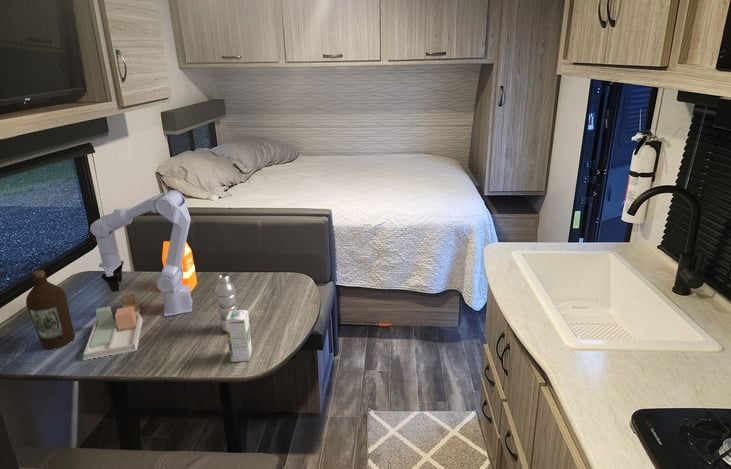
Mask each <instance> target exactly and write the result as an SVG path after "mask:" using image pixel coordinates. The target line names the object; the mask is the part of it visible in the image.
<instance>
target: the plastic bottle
mask: <svg viewBox="0 0 731 469" xmlns="http://www.w3.org/2000/svg"><path fill="white" fill-rule="evenodd" d="M214 293H215V297H216V299H217V302H218V307H219V316H220V321H219V322H220V323H219V325H220V328H221V330H223V331H224V332H226V333H227V330H226V322H225V321H226V319H227V316H228V313H229V311H234V310H238V308H237V300H236V299H237V298H236V297H237V296H236V295H237V291H236V286H235V284H233V283H232V282H231V277H230V274H229V273H227V272H225V273H224V272H223V273H220V274H218V275H217V285H216V288H215V292H214Z"/></svg>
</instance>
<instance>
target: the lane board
mask: <svg viewBox="0 0 731 469" xmlns="http://www.w3.org/2000/svg"><path fill="white" fill-rule="evenodd" d="M143 320H144V319H143V317H142V314H140V313H139V315H138V320H137V324H136V329H131V330H125V331H120V332H118V330H117V329H118V326H117V322H116V324H115V327H114V331H113V334H112V338H111V341H110V344H109V345H104V346H99V347H93V348H91V346H90V345H91V342H92V339H93V336H94V333H95V331H96V328H97V325H98V321H95V322H94V324H93V327H92V329H91V333H90V335H89V338H88V341H87V344H86V346H85V349H84V351H83V354H82V356H83V357H82V360H86V361H88V360H87V359H91V360H94V359H93V358H96V359H99V358H98V357H101V358H105V357H104V356H107V357H110V356H109V355H112V356H116V354H117V355H121V353H122V354H126V352H127V353H132V352H137V351H138V346H139V341H140V336H141V332H142V326H143Z"/></svg>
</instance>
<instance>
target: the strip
mask: <svg viewBox="0 0 731 469" xmlns="http://www.w3.org/2000/svg"><path fill="white" fill-rule="evenodd" d="M95 315H96V319H97V323H98V325H97V328H96V331H95V333H94V336H93V339H92V342H91V345H90V346H91V348H93V347H99V346H104V345H109V344H110V341H111V338H112V334H113V331H114V327H115V324H116V319H114V316H113V313H112V309H111V306H105V307H98V308H96V311H95Z"/></svg>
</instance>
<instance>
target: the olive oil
mask: <svg viewBox="0 0 731 469" xmlns="http://www.w3.org/2000/svg"><path fill="white" fill-rule="evenodd" d="M31 275H32V279H33V283H34V286H33V287H32V288H31V289H30V291H28V293H27V295H26V298H25V305H26V309H27V312H28V314H29V316H30V318H31V320H32V323H33V326H34V329H35V331H36V333H37V336H38V340H39V343H40V345H41V348H43V349H45V350H55V349H54V348H57V349H59V348H58V347H61V348H63V347H65V346H64V345H66V346H67V344H68V343H69V344H71V343H72V342H73V341H75V339H76V334H75V330H74V325H73V323H72V322H73V321H72V317H71V313H70V309H69V303H68V299H67V295H66V293H65V291H64V290H63V288H61V287H60V286H58V285H56V284H53V283H52V282H49V281H48V279H47V275H46V274H45V270H43V269H42V270H35V271H34V272H32V273H31ZM74 338H75V339H74ZM71 341H72V342H71ZM70 342H71V343H70ZM69 344H68V345H69ZM62 346H63V347H62Z"/></svg>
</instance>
